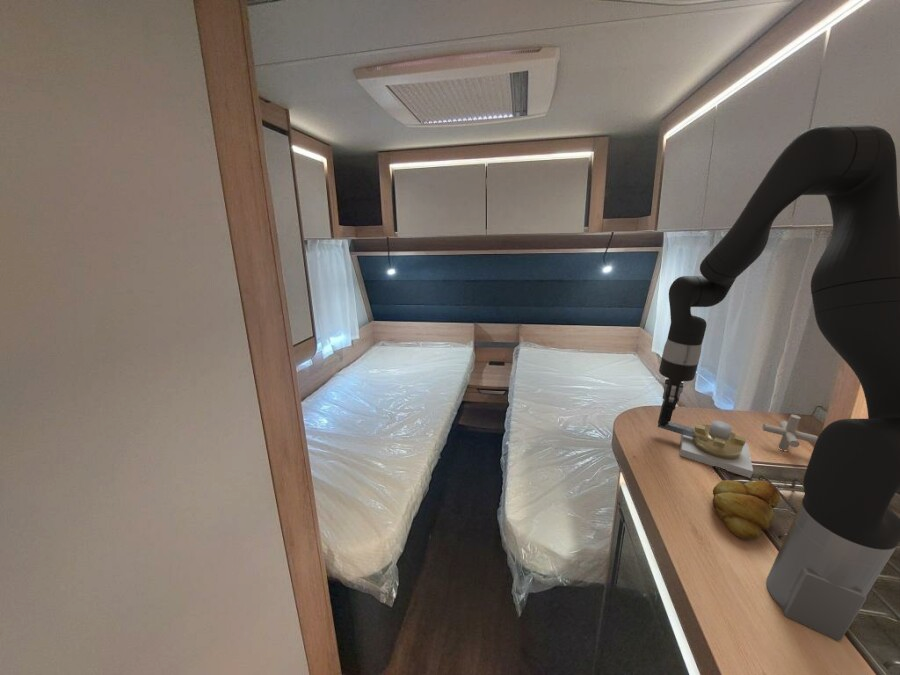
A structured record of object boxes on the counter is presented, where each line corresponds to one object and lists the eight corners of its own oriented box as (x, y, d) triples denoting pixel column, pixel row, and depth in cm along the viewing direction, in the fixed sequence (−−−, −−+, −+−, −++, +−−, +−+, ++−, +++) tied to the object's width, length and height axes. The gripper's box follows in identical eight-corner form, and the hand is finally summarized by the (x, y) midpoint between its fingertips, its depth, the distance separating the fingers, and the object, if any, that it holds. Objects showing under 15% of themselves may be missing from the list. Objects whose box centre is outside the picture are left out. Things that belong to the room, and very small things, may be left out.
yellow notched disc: (739, 443, 89) (749, 414, 86) (741, 464, 81) (752, 433, 78) (658, 419, 99) (665, 392, 96) (653, 437, 91) (660, 408, 88)
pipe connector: (815, 467, 83) (830, 433, 80) (761, 453, 88) (774, 420, 85) (802, 445, 91) (816, 412, 88) (754, 433, 96) (765, 402, 93)
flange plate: (750, 478, 80) (761, 448, 77) (679, 455, 88) (687, 427, 85) (745, 450, 89) (755, 423, 86) (681, 432, 97) (689, 406, 94)
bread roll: (763, 555, 62) (777, 522, 60) (699, 522, 69) (710, 491, 66) (771, 514, 71) (784, 484, 68) (714, 488, 77) (724, 459, 74)
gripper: (699, 371, 77) (681, 436, 82) (698, 352, 87) (682, 412, 93) (660, 363, 81) (646, 426, 86) (664, 346, 91) (651, 404, 97)
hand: (665, 419), depth 90 cm, fingers closed
